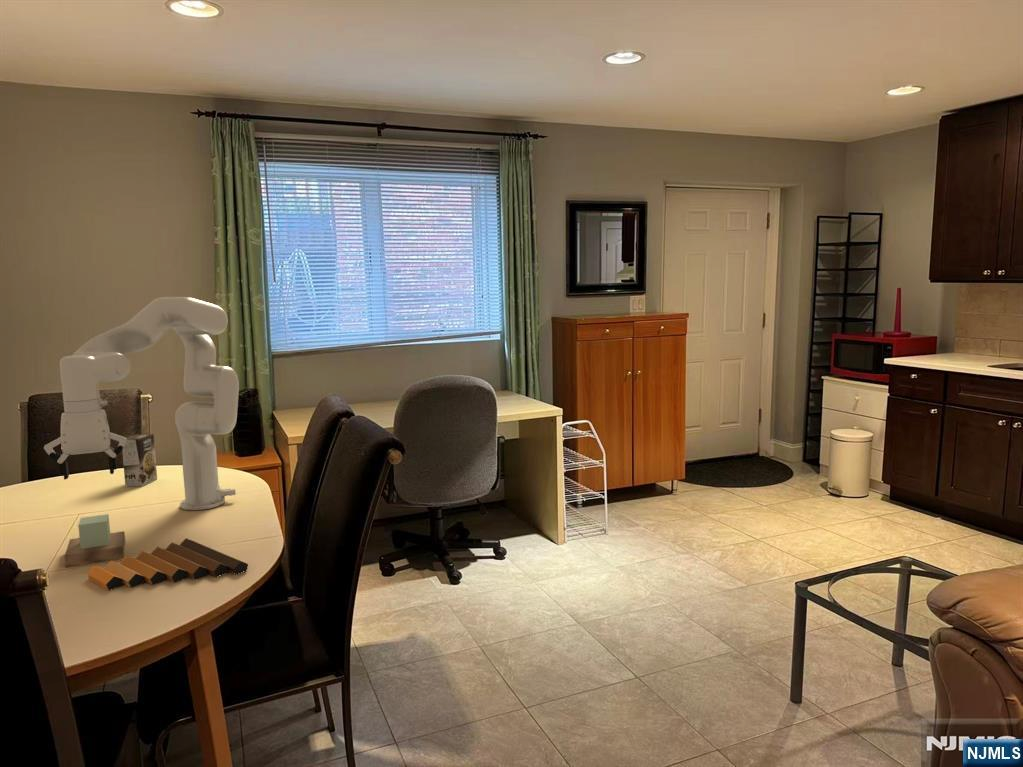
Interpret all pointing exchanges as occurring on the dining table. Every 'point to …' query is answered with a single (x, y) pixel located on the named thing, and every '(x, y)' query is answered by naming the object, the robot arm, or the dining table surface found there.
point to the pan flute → (166, 566)
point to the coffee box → (139, 460)
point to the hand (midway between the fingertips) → (89, 475)
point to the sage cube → (94, 531)
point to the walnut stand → (95, 551)
